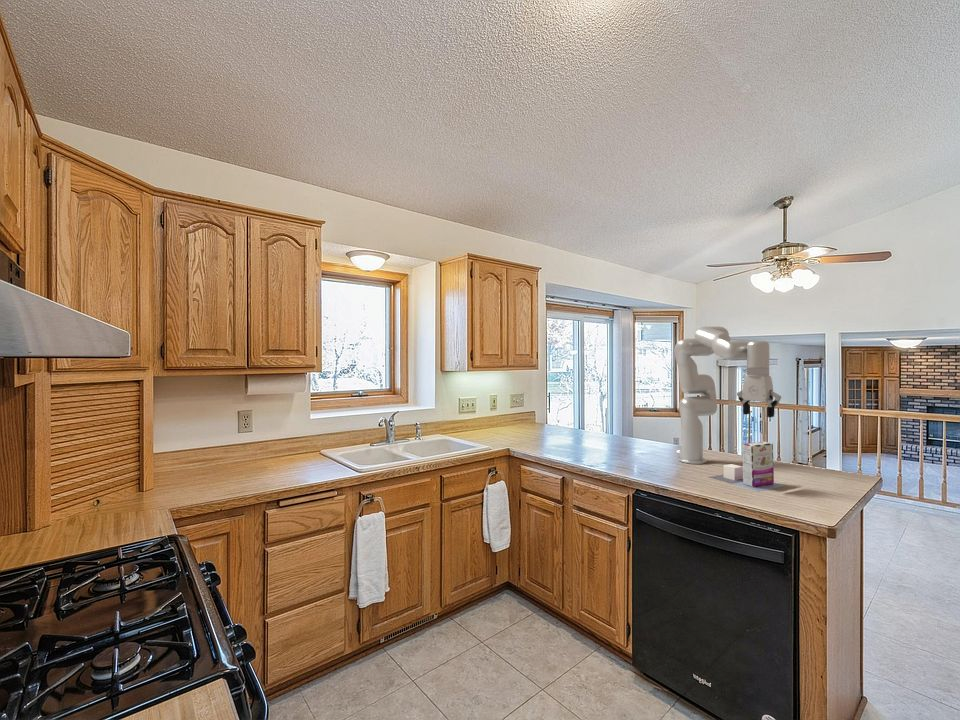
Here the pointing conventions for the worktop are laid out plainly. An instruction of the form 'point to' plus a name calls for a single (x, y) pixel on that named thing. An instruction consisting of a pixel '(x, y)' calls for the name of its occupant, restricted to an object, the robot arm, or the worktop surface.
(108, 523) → the worktop surface
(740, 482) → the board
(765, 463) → the candy bar box
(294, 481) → the worktop surface
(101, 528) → the worktop surface
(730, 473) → the cream block
